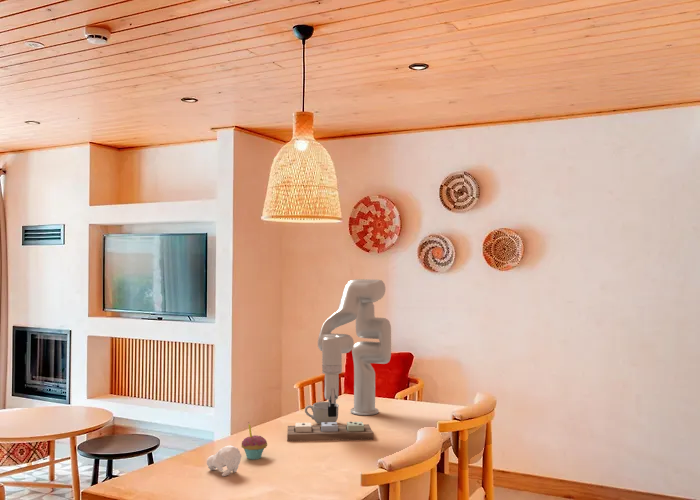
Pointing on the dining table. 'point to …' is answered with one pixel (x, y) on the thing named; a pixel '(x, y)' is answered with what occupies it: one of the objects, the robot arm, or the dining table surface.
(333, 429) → the white die
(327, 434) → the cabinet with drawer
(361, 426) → the pale green block
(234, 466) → the white animal figurine
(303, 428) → the cream square block
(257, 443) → the cupcake
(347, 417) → the dining table surface
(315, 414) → the teacup
